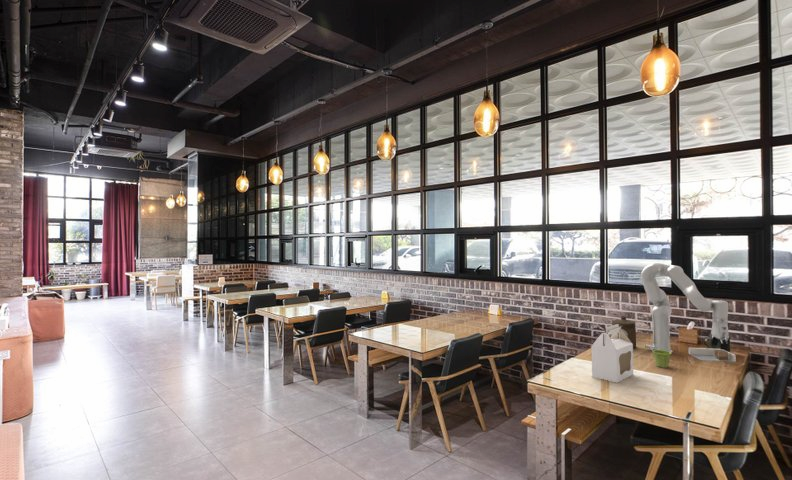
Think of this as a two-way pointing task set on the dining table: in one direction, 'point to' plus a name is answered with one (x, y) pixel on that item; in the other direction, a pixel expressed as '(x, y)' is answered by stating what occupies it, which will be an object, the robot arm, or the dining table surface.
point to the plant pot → (662, 358)
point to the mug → (718, 343)
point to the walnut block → (721, 354)
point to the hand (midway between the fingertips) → (718, 347)
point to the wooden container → (627, 329)
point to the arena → (709, 354)
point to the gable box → (612, 355)
